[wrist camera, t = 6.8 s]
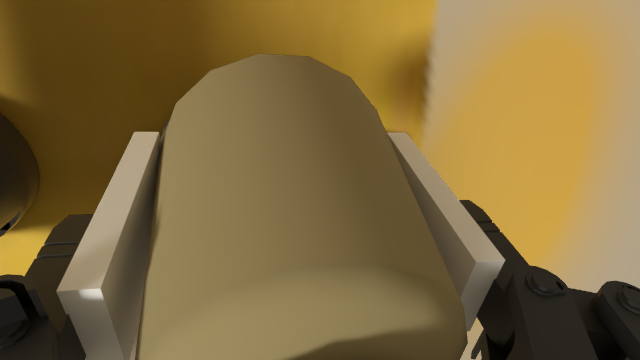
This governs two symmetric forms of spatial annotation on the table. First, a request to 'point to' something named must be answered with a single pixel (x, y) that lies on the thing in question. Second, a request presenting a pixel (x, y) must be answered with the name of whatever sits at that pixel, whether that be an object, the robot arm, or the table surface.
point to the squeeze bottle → (289, 228)
